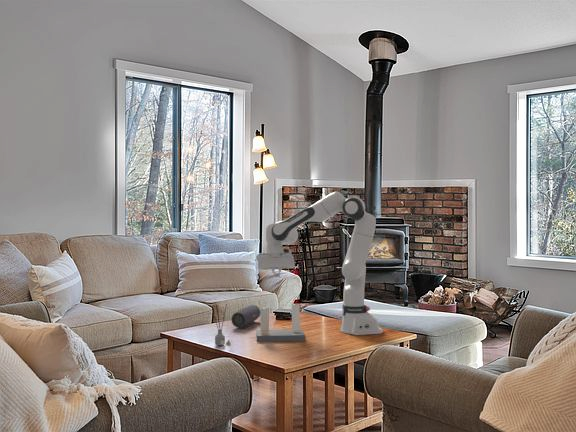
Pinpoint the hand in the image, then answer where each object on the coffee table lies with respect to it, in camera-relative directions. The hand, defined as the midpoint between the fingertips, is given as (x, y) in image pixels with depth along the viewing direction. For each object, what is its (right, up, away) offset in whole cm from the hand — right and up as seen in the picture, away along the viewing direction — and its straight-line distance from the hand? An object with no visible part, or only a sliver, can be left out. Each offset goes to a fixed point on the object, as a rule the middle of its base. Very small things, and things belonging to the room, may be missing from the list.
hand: (277, 276), depth 328 cm
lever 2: (+10, -26, -20) cm, 35 cm away
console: (+2, -29, -21) cm, 36 cm away
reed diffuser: (-27, -30, -34) cm, 53 cm away
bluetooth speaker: (-17, -28, +9) cm, 34 cm away
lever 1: (-6, -26, -21) cm, 34 cm away
